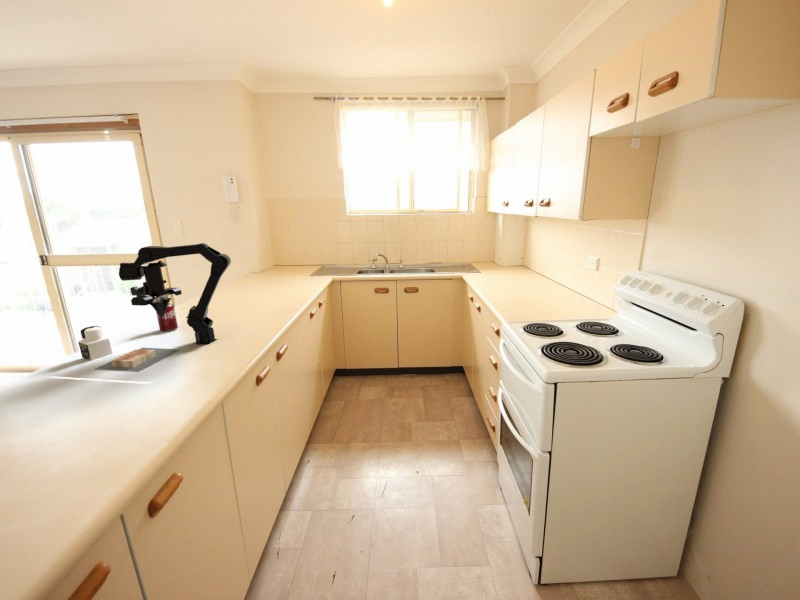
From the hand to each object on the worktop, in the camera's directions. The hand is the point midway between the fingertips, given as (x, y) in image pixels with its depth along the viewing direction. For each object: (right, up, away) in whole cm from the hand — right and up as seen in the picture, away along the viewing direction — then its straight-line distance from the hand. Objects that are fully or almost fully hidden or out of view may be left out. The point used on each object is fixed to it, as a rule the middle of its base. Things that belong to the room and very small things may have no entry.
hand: (161, 316), depth 142 cm
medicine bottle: (-21, -15, -5) cm, 27 cm away
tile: (-1, -13, -7) cm, 15 cm away
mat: (-2, -16, -9) cm, 18 cm away
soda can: (-13, -7, +25) cm, 29 cm away
